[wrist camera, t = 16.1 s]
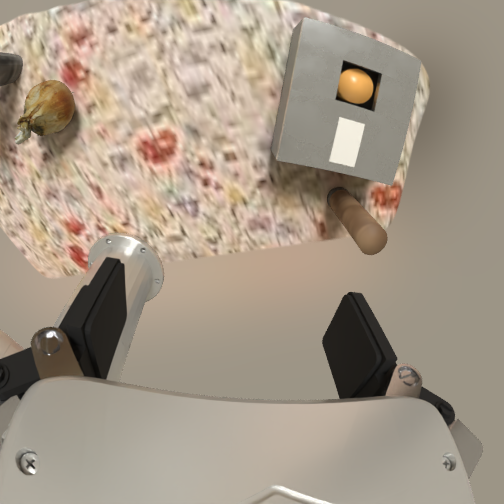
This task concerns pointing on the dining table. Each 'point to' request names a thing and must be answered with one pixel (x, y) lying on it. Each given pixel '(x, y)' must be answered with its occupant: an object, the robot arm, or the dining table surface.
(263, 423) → the robot arm
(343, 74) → the button
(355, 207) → the brown rounded rod
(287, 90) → the box
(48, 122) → the onion
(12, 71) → the beverage cup
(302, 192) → the dining table surface
